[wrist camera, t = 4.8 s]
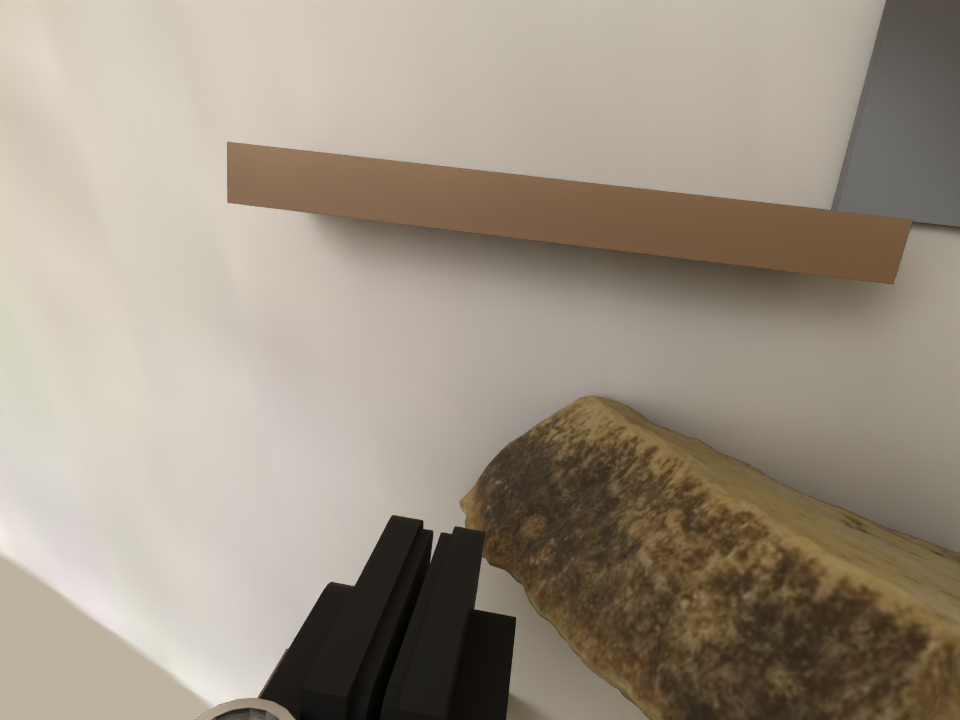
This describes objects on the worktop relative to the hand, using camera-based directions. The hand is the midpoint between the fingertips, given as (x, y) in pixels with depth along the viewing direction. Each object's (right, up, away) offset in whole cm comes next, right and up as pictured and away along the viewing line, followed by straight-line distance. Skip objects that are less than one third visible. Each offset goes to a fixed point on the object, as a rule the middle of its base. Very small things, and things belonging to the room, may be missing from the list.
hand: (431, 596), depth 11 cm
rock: (+6, 0, +4) cm, 8 cm away
